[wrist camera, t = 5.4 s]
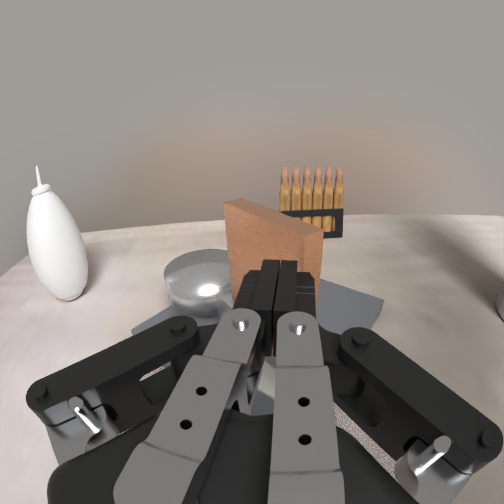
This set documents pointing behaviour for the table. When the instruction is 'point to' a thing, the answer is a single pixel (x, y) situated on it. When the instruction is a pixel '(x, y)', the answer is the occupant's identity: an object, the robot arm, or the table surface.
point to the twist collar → (241, 259)
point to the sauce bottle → (55, 245)
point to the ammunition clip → (314, 200)
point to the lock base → (328, 316)
